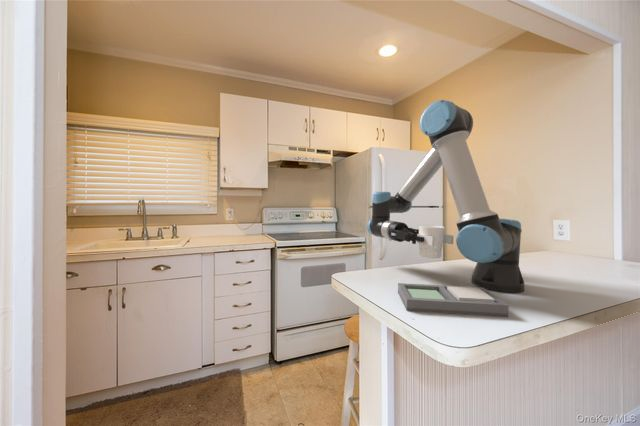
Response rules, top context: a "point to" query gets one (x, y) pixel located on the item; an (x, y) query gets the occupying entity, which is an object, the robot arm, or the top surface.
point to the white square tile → (469, 294)
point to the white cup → (438, 241)
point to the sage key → (425, 294)
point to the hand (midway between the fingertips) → (443, 240)
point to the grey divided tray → (450, 302)
